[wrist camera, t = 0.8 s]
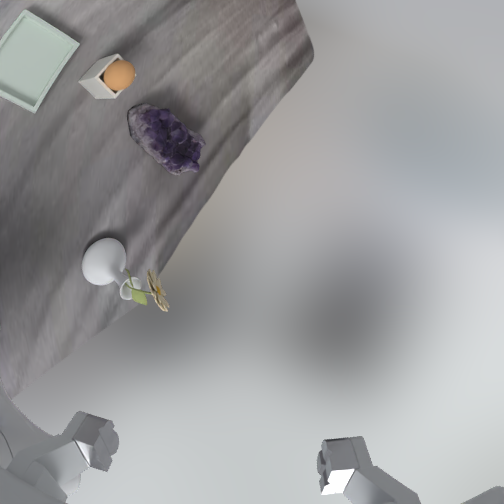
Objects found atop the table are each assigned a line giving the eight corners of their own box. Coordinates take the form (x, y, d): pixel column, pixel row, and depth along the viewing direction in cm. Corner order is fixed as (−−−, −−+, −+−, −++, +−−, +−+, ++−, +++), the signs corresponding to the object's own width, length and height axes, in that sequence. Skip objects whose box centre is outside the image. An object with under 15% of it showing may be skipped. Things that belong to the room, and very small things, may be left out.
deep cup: (96, 99, 44) (115, 98, 40) (77, 81, 39) (94, 77, 35) (115, 77, 45) (137, 74, 40) (98, 59, 40) (117, 53, 36)
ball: (115, 96, 41) (128, 95, 38) (93, 81, 36) (105, 79, 34) (131, 71, 41) (146, 69, 38) (110, 56, 36) (124, 52, 33)
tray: (33, 113, 36) (35, 113, 34) (-26, 83, 24) (-26, 82, 22) (76, 46, 35) (80, 43, 34) (22, 13, 23) (24, 8, 22)
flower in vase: (125, 269, 68) (191, 327, 55) (85, 288, 60) (143, 357, 47) (118, 221, 61) (188, 272, 48) (72, 239, 53) (130, 303, 40)
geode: (108, 138, 51) (133, 136, 45) (137, 92, 52) (165, 86, 47) (172, 182, 68) (201, 187, 62) (193, 141, 69) (223, 143, 64)
